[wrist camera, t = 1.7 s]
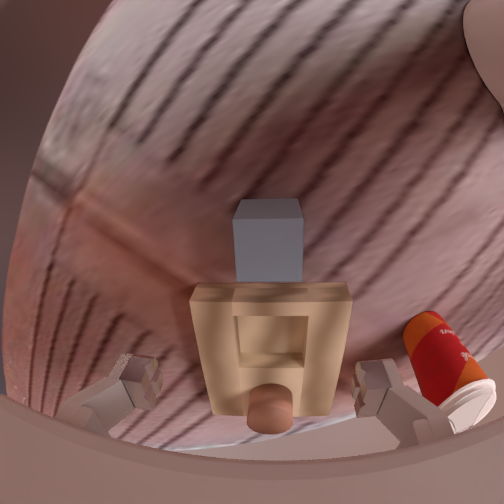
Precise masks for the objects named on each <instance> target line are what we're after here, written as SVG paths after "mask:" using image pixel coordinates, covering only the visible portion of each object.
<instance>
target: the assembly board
mask: <svg viewBox="0 0 504 504" xmlns="http://www.w3.org/2000/svg"><path fill="white" fill-rule="evenodd" d="M189 303H190V309H191V315H192V320H193V325H194V330H195V336H196V341H197V346H198V350H199V355H200V360H201V365H202V369H203V374H204V378H205V383H206V387H207V391H208V396H209V400H210V404H211V408H212V412H213V414H218V415H232V416H247V425H248V427H249V428H250V429H252V430H253V431H255V432H258V433H262V434H279V433H283V432H285V431H287V430H289V429H290V428H291V427H292V425H293V417H306V416H326V415H329V414H330V410H331V407H332V403H333V399H334V394H335V390H336V386H337V382H338V377H339V373H340V368H341V363H342V359H343V354H344V349H345V343H346V338H347V333H348V327H349V321H350V315H351V309H352V303H353V300H352V298H351V295H350V292H349V290H348V287H347V285H346V282H326V283H197V285H196V288H195V290H194V292H193V294H192V296H191V298H190V300H189Z"/></svg>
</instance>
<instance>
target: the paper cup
mask: <svg viewBox="0 0 504 504" xmlns="http://www.w3.org/2000/svg"><path fill="white" fill-rule="evenodd" d="M403 341H404V344H405V347H406V350H407V353H408V355H409V358H410V361H411V364H412V367H413V370H414V372H415V375H416V378H417V381H418V384H419V387H420V390H421V393H422V396H423V397H424V398H426V399H427V400H428V401H430V402H431V403H433V404H434V405H436V406H437V407H438V408H440V409H441V410H443V411H444V412H446V414H447V417H448V419H449V422H450V424H451V426H452V429H453V431H454V434H455V433H457V432H459V433H460V432H462V431H464V430H466V429H468V428H469V426H470V425H472V426H474V425H475V424H476V423H478V422H479V421H480V420H481V419H482V418H483V417H485V416H486V414H488V412H489V411H490V410H491V409H492V407H493V405H494V404H495V401H496V392H495V382H494V381H493V380H491V379H488V378H487V376H486V375H485V373H484V372H483V370H482V369H481V368H480V366H479V365H478V363H477V362H476V361H475V359H474V358H473V356H472V355H471V354H470V352H469V351H468V350H467V348H466V347H465V346H464V344H463V343H462V342H461V341H460V339H459V338H458V337H457V335H456V334H455V333H454V332H453V330H452V329H451V328H450V327H449V325H448V324H447V323H446V322H445V321H444V319H443V318H442V317H441V316H440V315H439V314H438V313H436V312H434V311H426V312H422V313H420V314H418V315H416V316H415V317H414V318H412V319H411V320H410V321H409V322H408V324H407V325H406V327H405V329H404V331H403ZM455 431H456V432H455Z"/></svg>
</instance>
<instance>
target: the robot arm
mask: <svg viewBox="0 0 504 504" xmlns="http://www.w3.org/2000/svg"><path fill="white" fill-rule="evenodd" d="M463 28H464V35H465V39H466V43H467V47H468V50H469V53H470V55H471V58H472V60H473V63H474V65H475V67H476V69H477V71H478V73H479V75H480V77H481V78H482V80H483V82H484V83H485V85H486V86H487V88H488V89H489V90H490V92H491V93H492V94H493V96H494V97H495V98H496V99H497V101H498V102H499V104H500V105H501V107H502V109H503V112H504V0H471V1H470V2H469V3H468V4H467V6H466V8H465V11H464V16H463ZM157 366H158V361H157V358H155V357H150V356H143V355H137V354H130V353H123V354H121V356H120V357H119V359H118V361H117V362H116V364H115V366H114V367H113V369H112V371H111V373H110V374H109V376H108V377H104V378H102V379H100V380H99V381H97V382H95V383H94V384H92V385H90V386H88V387H87V388H85V389H83V390H81V391H79V392H78V393H76V394H74V395H72V396H71V397H69V398H67V399H66V400H65V401H64V403H63V405H62V406H61V408H60V409H59V411H58V413H57V414H56V416H55V418H53V417H50V416H48V415H45V414H43V413H41V412H38V411H36V410H34V409H32V408H29V407H27V406H25V405H23V404H21V403H19V402H17V401H15V400H13V399H11V398H9V397H7V396H5V395H3V394H0V504H504V416H503V417H501V418H498V419H496V420H493V421H491V422H488V423H486V424H483V425H480V426H478V427H475V428H472V429H469V430H467V431H464V432H461V433H458V434H454V431H453V429H452V426H451V424H450V422H449V419H448V417H447V414H446V412H444V411H443V410H441V409H440V408H438V407H437V406H436V405H434V404H433V403H431V402H430V401H428V400H427V399H426V398H424V397H423V396H421V395H420V394H419V393H417V392H416V391H414V390H413V389H412V388H410V387H409V386H404V384H403V382H402V379H401V377H400V374H399V372H398V369H397V367H396V365H395V362H394V360H393V359H392V358H389V359H381V360H370V361H359V362H357V363H356V366H355V371H356V373H355V374H354V375H353V377H352V381H351V393H352V397H353V398H354V399H355V400H356V402H355V405H354V407H355V411H356V416H357V418H360V417H370V416H376V417H377V418H378V419H379V420H380V421H381V422H382V423H383V424H384V425H385V426H386V427H387V429H388V430H390V431H391V433H393V435H394V436H395V437H396V438H397V439H398V440H399V441H400V444H399V445H398V447H397V448H396V449H395V450H390V451H385V452H379V453H373V454H366V455H359V456H351V457H341V458H331V459H319V460H318V459H317V460H296V461H295V460H294V461H264V460H240V459H227V458H216V457H207V456H198V455H191V454H185V453H178V452H172V451H167V450H161V449H156V448H151V447H147V446H142V445H138V444H134V443H130V442H126V441H122V440H118V439H114V438H112V437H111V436H110V435H109V433H108V431H109V430H110V429H111V428H112V427H114V426H115V425H116V424H117V423H119V422H120V421H121V420H122V419H123V418H125V417H126V416H127V415H128V414H129V413H131V412H132V411H133V410H134V409H135V408H138V409H144V410H151V411H153V409H154V406H155V403H156V401H157V398H156V394H157V393H159V392H160V390H161V388H162V382H163V378H162V373H161V371H160V370H159V369H158V368H157Z"/></svg>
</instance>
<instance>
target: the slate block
mask: <svg viewBox="0 0 504 504" xmlns="http://www.w3.org/2000/svg"><path fill="white" fill-rule="evenodd" d="M232 222H233V236H234V250H235V264H236V278H237V282H294V281H302V268H303V232H304V218H303V214H302V211H301V207H300V204H299V201H298V198H293V199H241V202H240V204H239V206H238V208H237V210H236V213H235V215H234V217H233V219H232Z"/></svg>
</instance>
